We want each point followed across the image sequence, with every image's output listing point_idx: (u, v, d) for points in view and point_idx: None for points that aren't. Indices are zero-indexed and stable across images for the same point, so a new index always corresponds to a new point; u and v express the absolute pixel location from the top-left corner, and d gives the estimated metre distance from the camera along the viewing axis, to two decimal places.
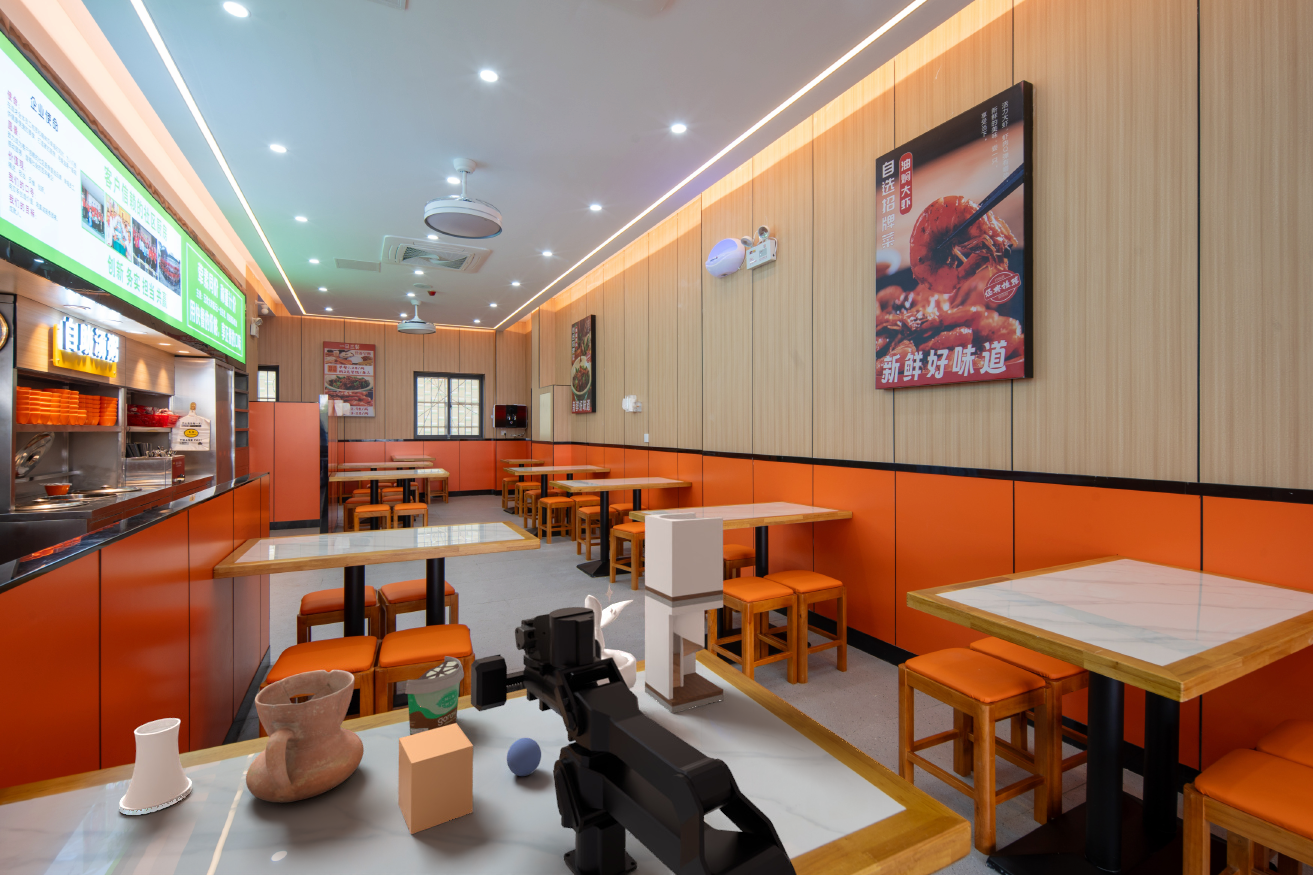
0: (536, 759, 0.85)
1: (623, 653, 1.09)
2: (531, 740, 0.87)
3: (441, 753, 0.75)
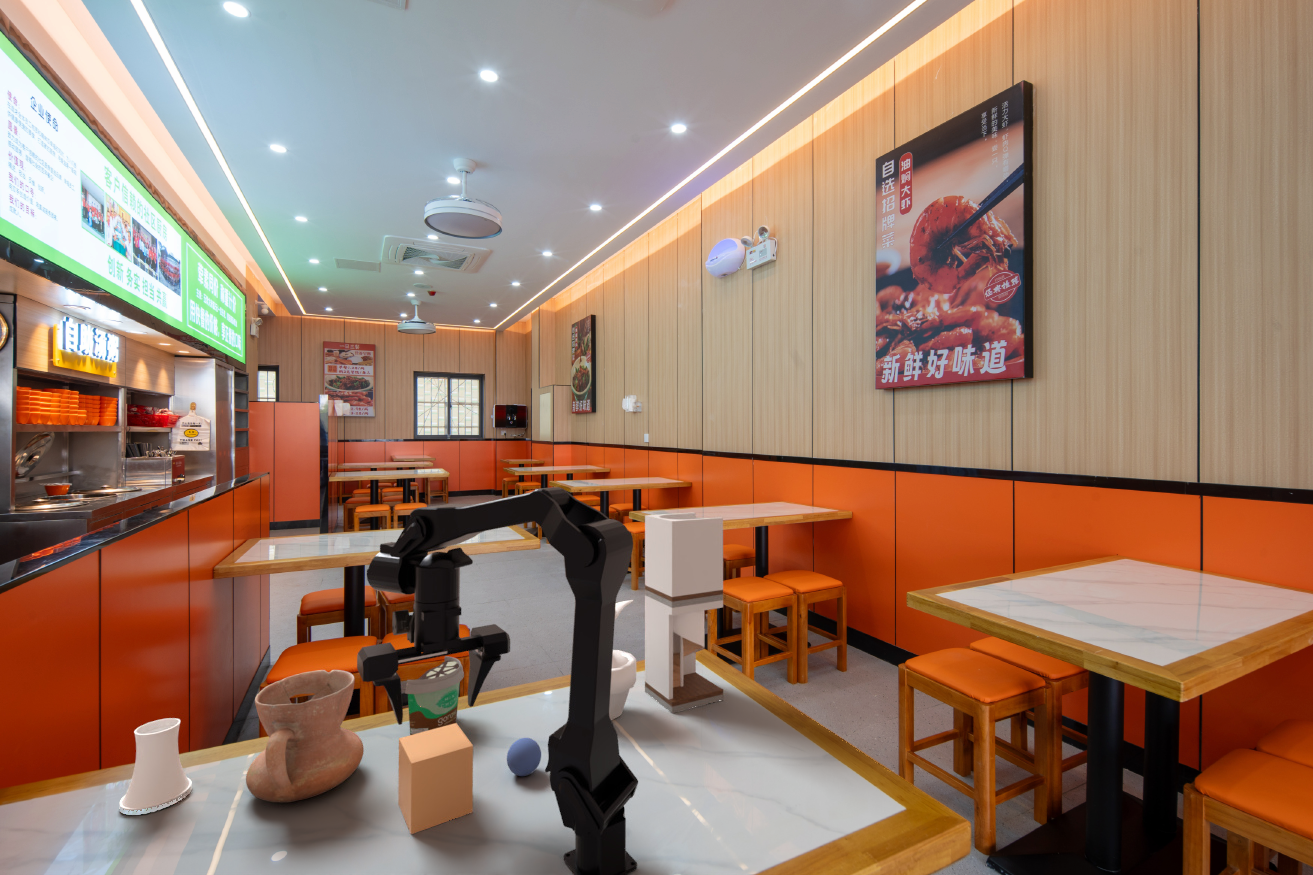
0: (536, 759, 0.85)
1: (623, 653, 1.09)
2: (531, 740, 0.87)
3: (441, 753, 0.75)
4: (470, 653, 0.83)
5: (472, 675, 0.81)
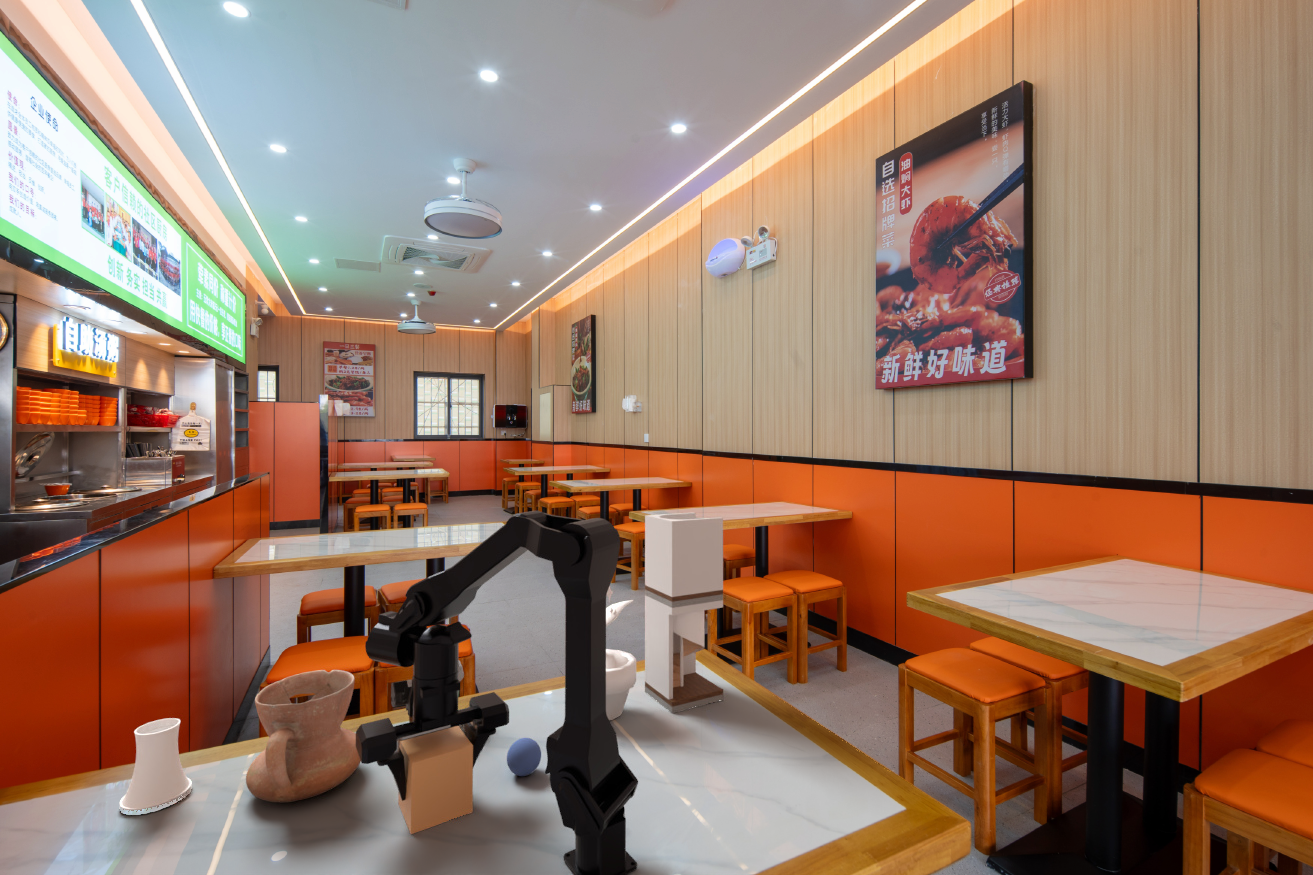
0: (536, 759, 0.85)
1: (623, 653, 1.09)
2: (531, 740, 0.87)
3: (441, 753, 0.75)
4: (465, 725, 0.82)
5: None
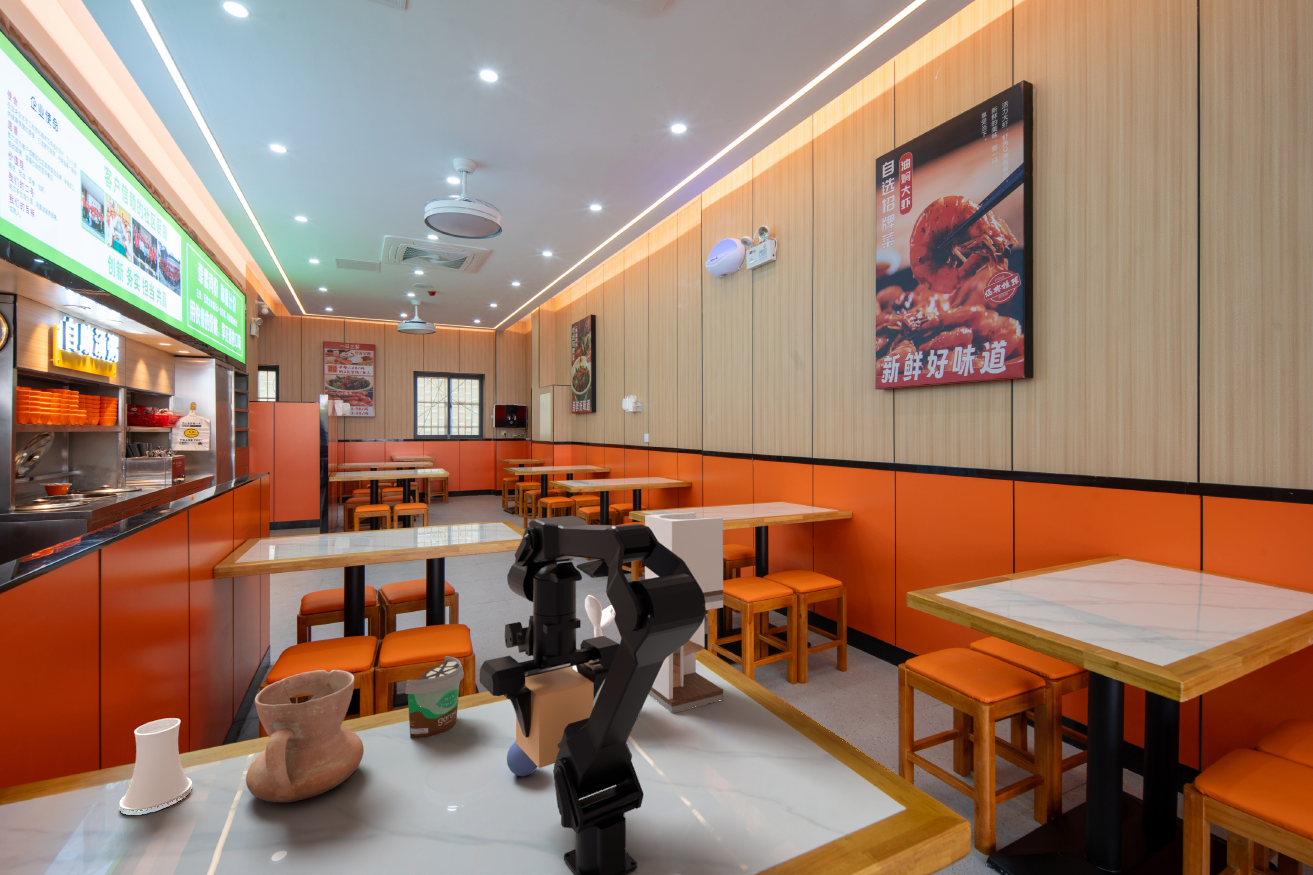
0: None
1: None
2: None
3: (565, 688, 0.75)
4: (579, 667, 0.82)
5: None
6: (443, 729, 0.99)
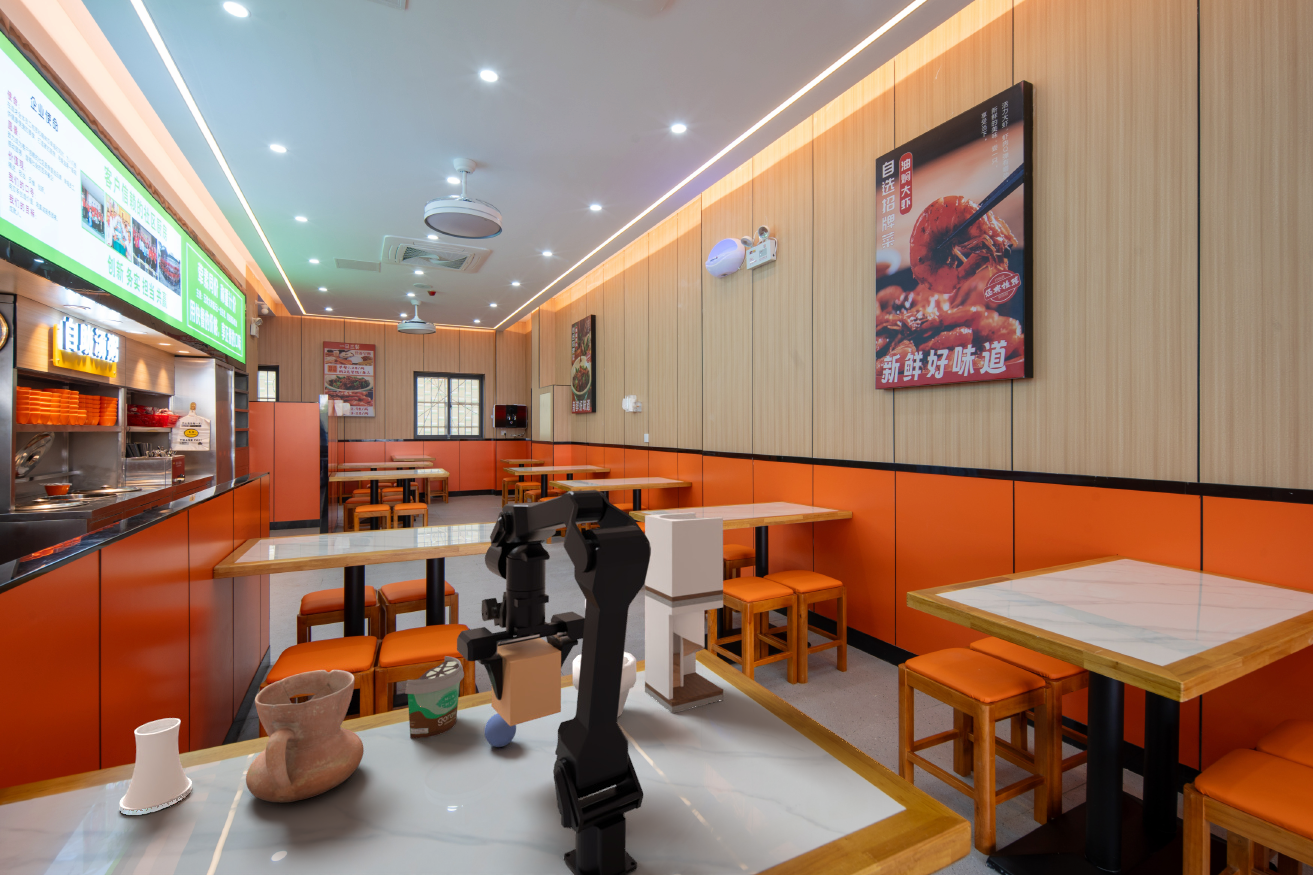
0: None
1: None
2: (509, 741, 0.94)
3: (534, 656, 0.83)
4: (548, 639, 0.90)
5: None
6: (443, 729, 0.99)
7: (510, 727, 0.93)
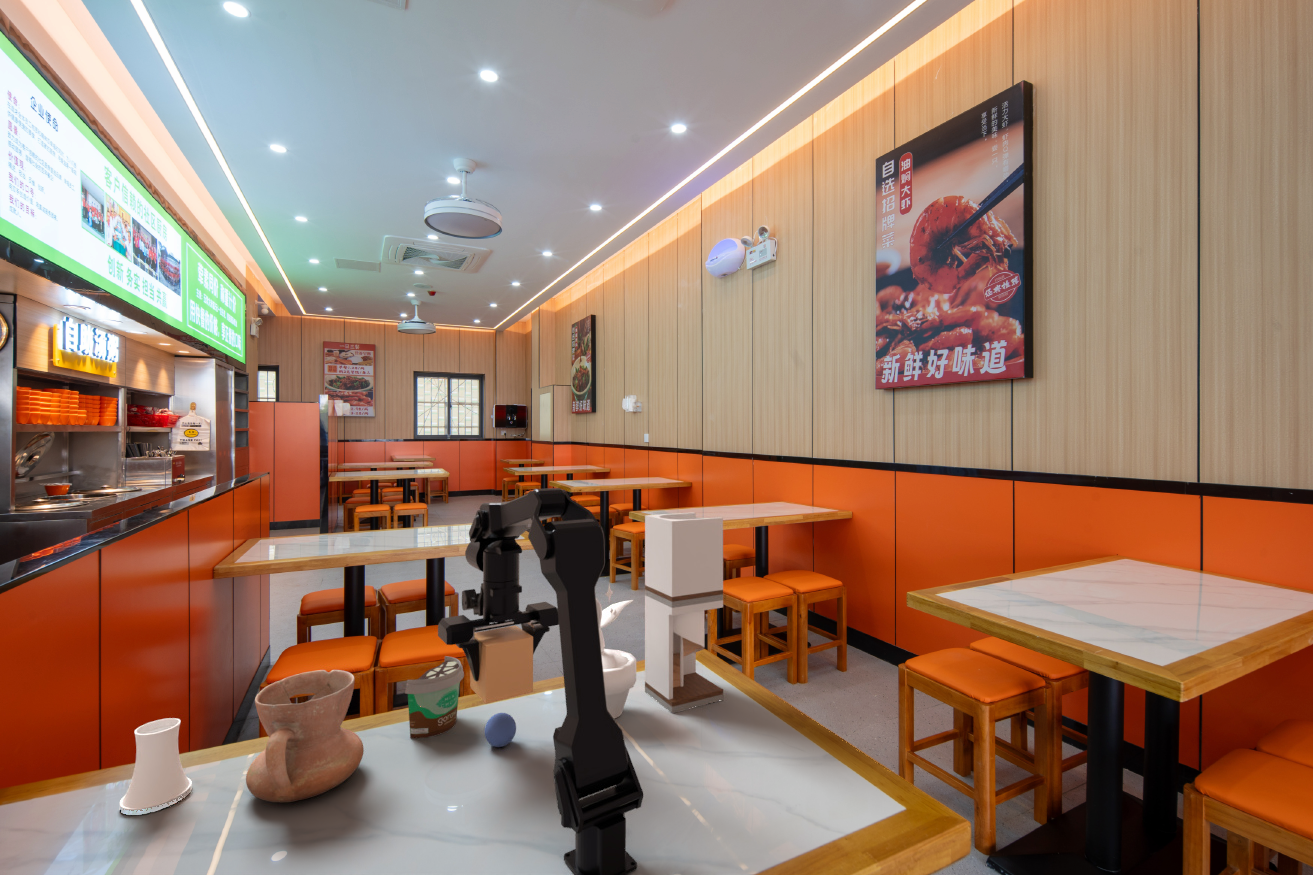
0: None
1: (623, 653, 1.09)
2: (509, 741, 0.94)
3: (508, 640, 0.92)
4: (523, 626, 0.99)
5: None
6: (443, 729, 0.99)
7: (510, 727, 0.93)
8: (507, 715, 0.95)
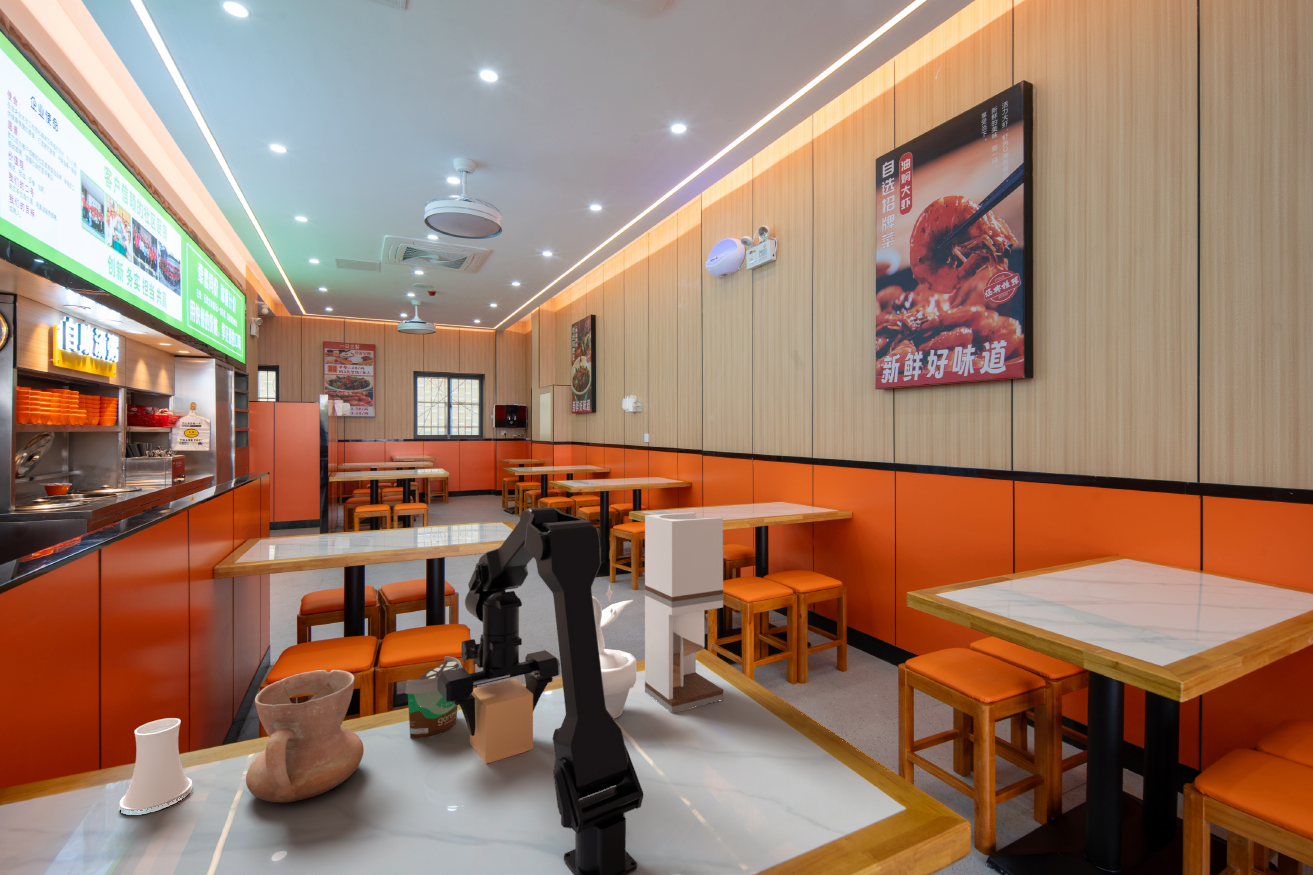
0: None
1: (623, 653, 1.09)
2: None
3: (508, 699, 0.92)
4: (526, 675, 0.99)
5: None
6: (443, 729, 0.99)
7: None
8: None
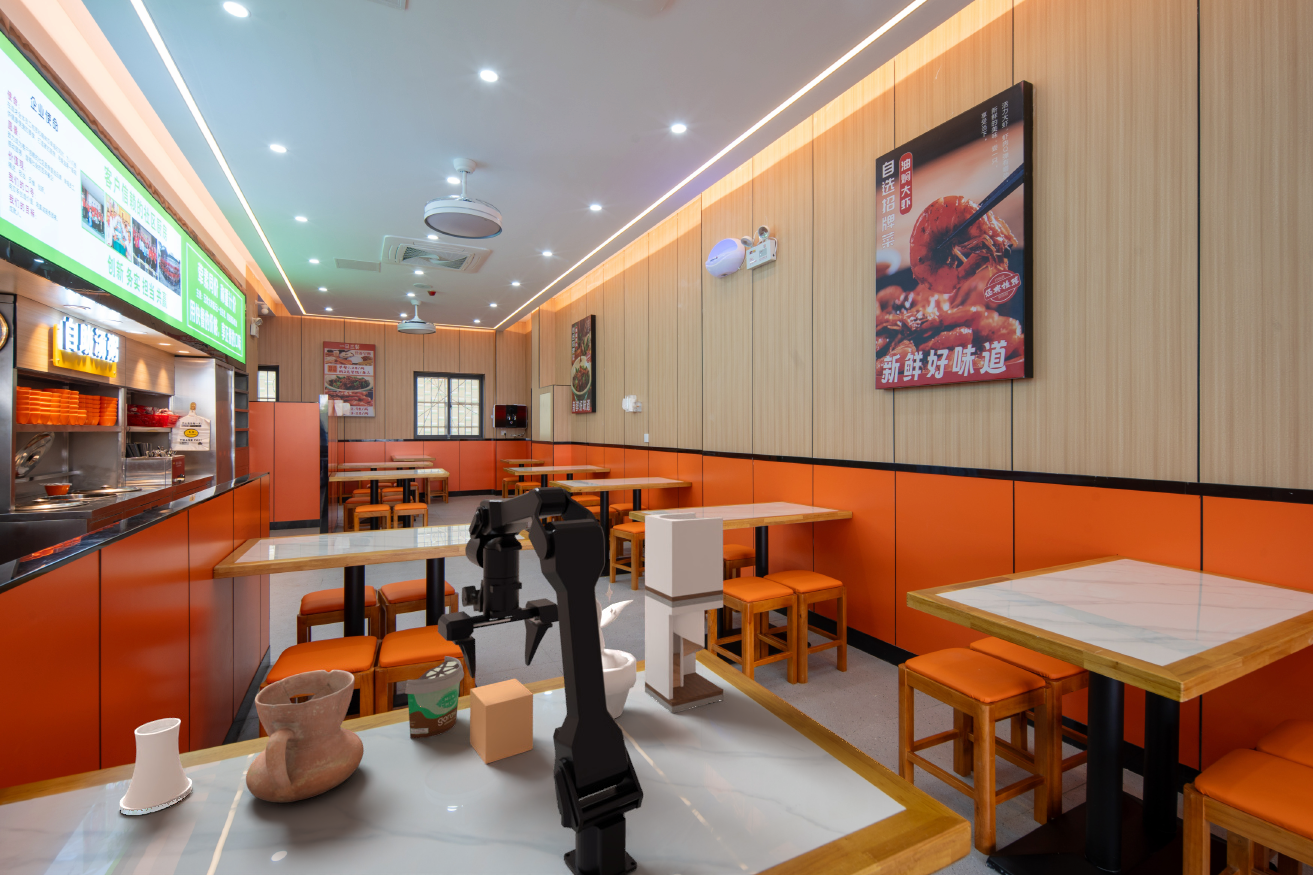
0: None
1: (623, 653, 1.09)
2: None
3: (508, 699, 0.92)
4: (526, 622, 0.99)
5: (529, 639, 0.97)
6: (443, 729, 0.99)
7: None
8: None
